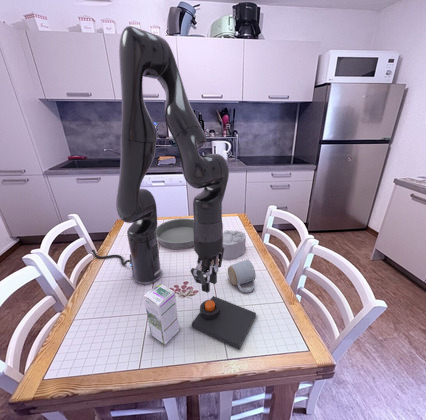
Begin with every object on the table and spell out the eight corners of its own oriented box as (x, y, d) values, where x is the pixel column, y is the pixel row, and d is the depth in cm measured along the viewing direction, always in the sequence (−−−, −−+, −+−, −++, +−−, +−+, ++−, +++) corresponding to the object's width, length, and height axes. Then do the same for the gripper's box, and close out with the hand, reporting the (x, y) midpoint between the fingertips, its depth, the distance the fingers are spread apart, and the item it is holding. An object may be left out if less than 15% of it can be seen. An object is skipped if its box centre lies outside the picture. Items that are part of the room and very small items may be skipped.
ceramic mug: (226, 278, 87) (226, 261, 84) (245, 272, 91) (246, 255, 88) (239, 297, 79) (240, 279, 76) (260, 289, 82) (262, 272, 79)
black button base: (190, 326, 68) (189, 317, 66) (212, 299, 78) (211, 291, 76) (239, 350, 61) (239, 340, 60) (255, 316, 71) (256, 308, 70)
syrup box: (180, 330, 67) (176, 290, 61) (164, 346, 62) (158, 304, 56) (165, 321, 69) (160, 281, 64) (149, 336, 65) (142, 295, 59)
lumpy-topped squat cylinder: (213, 250, 104) (213, 233, 101) (236, 241, 112) (236, 225, 108) (227, 261, 97) (227, 243, 94) (250, 251, 104) (251, 234, 101)
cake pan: (183, 257, 99) (182, 248, 97) (144, 241, 111) (142, 232, 109) (216, 234, 118) (216, 226, 116) (180, 221, 130) (179, 214, 128)
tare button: (203, 309, 70) (202, 305, 69) (208, 302, 72) (208, 298, 71) (211, 313, 68) (211, 309, 68) (216, 306, 71) (216, 302, 70)
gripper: (210, 220, 68) (211, 269, 74) (179, 242, 56) (183, 298, 63) (233, 226, 65) (232, 276, 71) (205, 251, 53) (207, 308, 60)
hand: (209, 286), depth 67 cm, fingers open, 3 cm apart
